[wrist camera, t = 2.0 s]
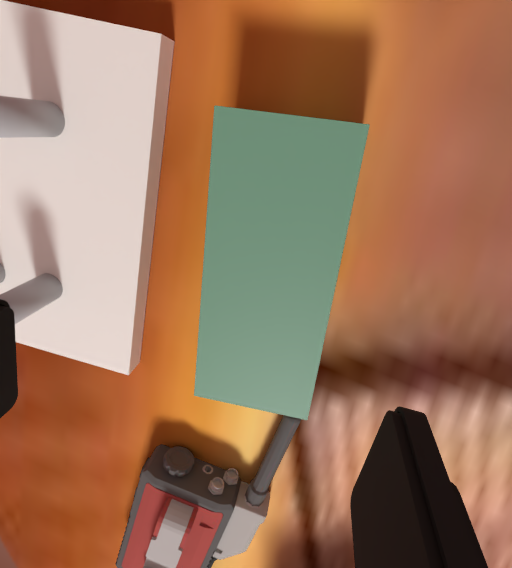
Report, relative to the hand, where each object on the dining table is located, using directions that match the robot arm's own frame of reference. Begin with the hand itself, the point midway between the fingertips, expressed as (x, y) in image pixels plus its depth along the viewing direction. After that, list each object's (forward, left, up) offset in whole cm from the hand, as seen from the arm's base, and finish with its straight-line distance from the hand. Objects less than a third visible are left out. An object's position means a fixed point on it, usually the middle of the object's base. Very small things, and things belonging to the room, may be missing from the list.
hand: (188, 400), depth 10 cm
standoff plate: (+13, 0, -12) cm, 18 cm away
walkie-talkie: (+1, +18, -13) cm, 22 cm away
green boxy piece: (-1, 0, -13) cm, 13 cm away
